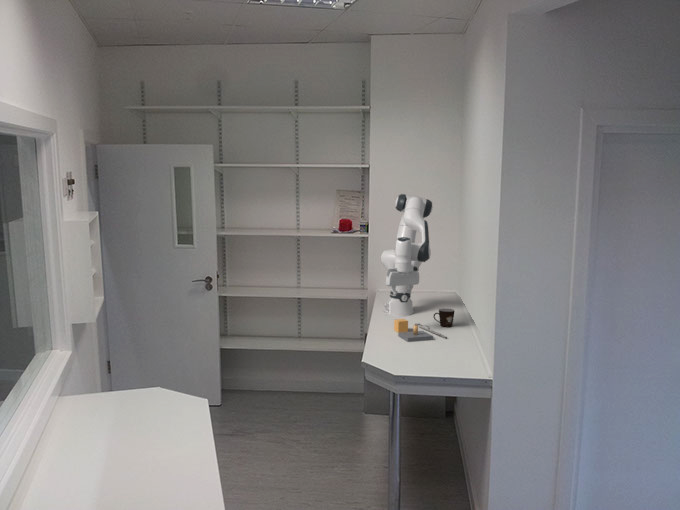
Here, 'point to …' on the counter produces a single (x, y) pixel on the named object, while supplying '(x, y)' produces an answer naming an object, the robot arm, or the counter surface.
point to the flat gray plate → (415, 335)
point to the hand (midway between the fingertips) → (402, 293)
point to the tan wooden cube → (400, 325)
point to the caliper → (430, 330)
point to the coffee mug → (445, 317)
